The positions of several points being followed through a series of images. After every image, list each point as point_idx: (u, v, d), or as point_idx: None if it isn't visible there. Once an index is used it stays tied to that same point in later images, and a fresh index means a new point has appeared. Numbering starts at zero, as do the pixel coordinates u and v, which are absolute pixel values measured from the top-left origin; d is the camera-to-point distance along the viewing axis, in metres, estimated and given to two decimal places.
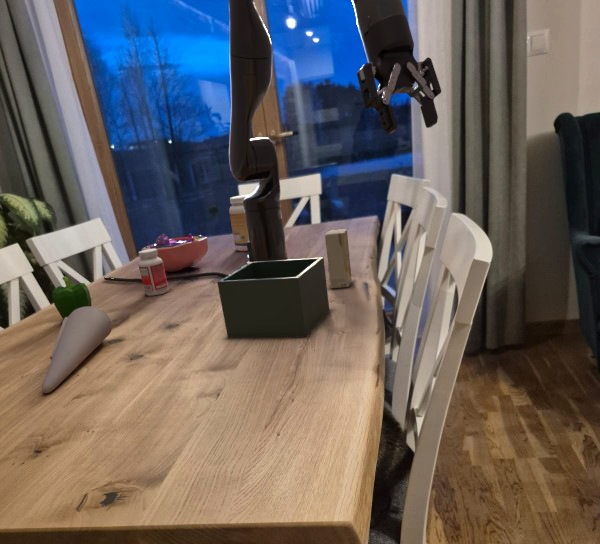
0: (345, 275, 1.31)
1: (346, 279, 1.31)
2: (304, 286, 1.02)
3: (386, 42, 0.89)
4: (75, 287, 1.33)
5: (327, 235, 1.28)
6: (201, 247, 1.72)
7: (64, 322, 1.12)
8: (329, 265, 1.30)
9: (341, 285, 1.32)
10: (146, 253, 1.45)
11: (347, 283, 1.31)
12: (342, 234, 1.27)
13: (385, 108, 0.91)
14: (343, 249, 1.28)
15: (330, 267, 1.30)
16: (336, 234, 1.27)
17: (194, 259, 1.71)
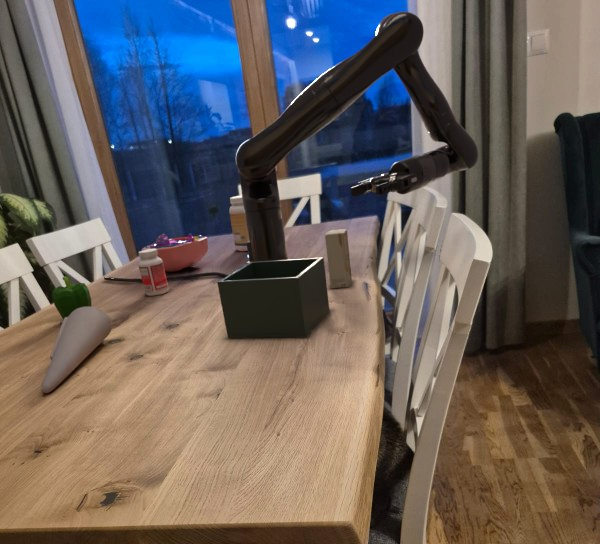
0: (345, 275, 1.31)
1: (346, 279, 1.31)
2: (304, 286, 1.02)
3: (412, 188, 1.37)
4: (75, 287, 1.33)
5: (327, 235, 1.28)
6: (201, 247, 1.72)
7: (64, 322, 1.12)
8: (329, 265, 1.30)
9: (341, 285, 1.32)
10: (146, 253, 1.45)
11: (347, 283, 1.31)
12: (342, 234, 1.27)
13: None
14: (343, 249, 1.28)
15: (330, 267, 1.30)
16: (336, 234, 1.27)
17: (194, 259, 1.71)
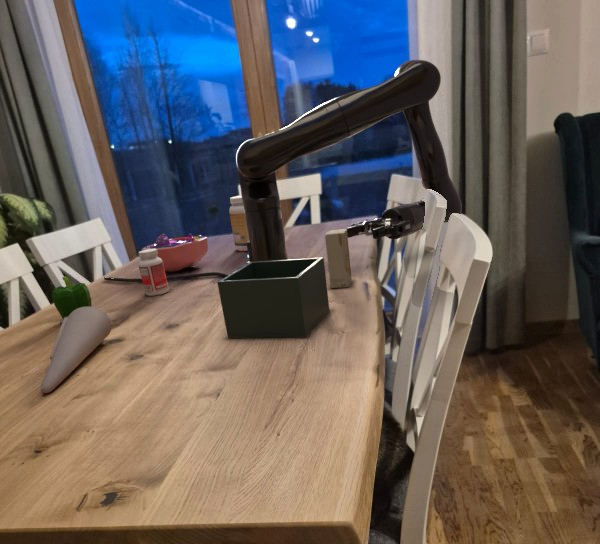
0: (345, 275, 1.31)
1: (346, 279, 1.31)
2: (304, 286, 1.02)
3: (402, 234, 1.42)
4: (75, 287, 1.33)
5: (327, 235, 1.28)
6: (201, 247, 1.72)
7: (64, 322, 1.12)
8: (329, 265, 1.30)
9: (341, 285, 1.32)
10: (146, 253, 1.45)
11: (347, 283, 1.31)
12: (342, 234, 1.27)
13: None
14: (343, 249, 1.28)
15: (330, 267, 1.30)
16: (336, 234, 1.27)
17: (194, 259, 1.71)
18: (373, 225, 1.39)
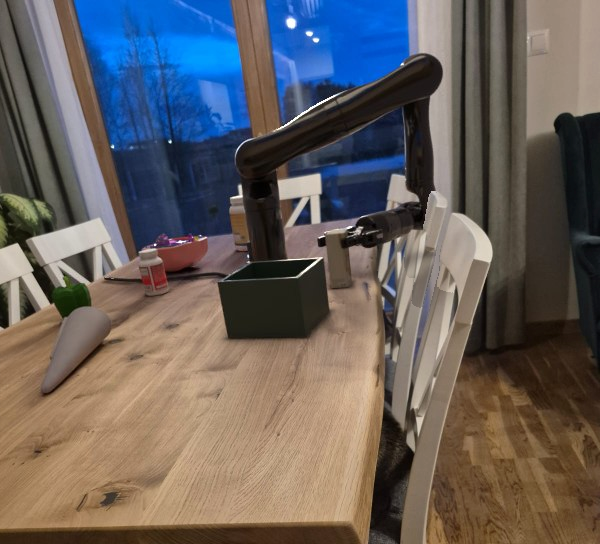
0: (345, 275, 1.30)
1: (346, 279, 1.31)
2: (304, 286, 1.02)
3: (377, 243, 1.36)
4: (75, 287, 1.33)
5: (327, 235, 1.28)
6: (201, 247, 1.72)
7: (64, 322, 1.12)
8: (329, 265, 1.30)
9: (341, 285, 1.32)
10: (146, 253, 1.45)
11: (347, 283, 1.31)
12: (342, 234, 1.27)
13: (354, 244, 1.29)
14: (343, 249, 1.28)
15: (330, 267, 1.30)
16: (336, 234, 1.27)
17: (194, 259, 1.71)
18: None
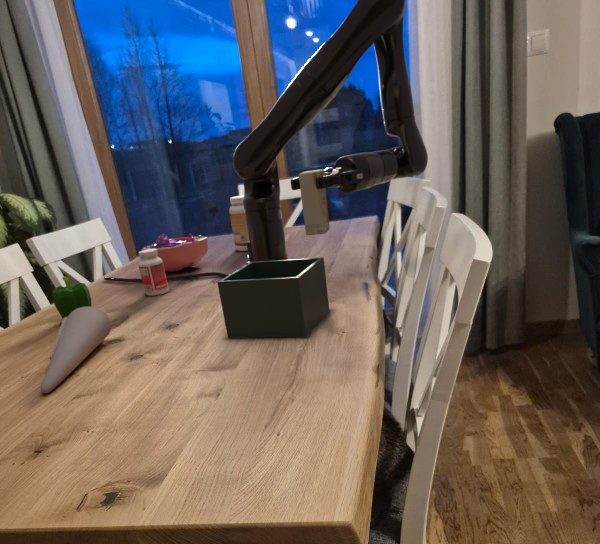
0: (321, 220, 1.18)
1: (323, 225, 1.18)
2: (304, 286, 1.02)
3: (357, 186, 1.23)
4: (75, 287, 1.33)
5: (301, 174, 1.15)
6: (201, 247, 1.72)
7: (63, 322, 1.12)
8: (304, 209, 1.18)
9: (317, 232, 1.19)
10: (146, 253, 1.45)
11: (324, 229, 1.19)
12: (317, 173, 1.14)
13: (331, 184, 1.16)
14: (319, 190, 1.15)
15: (305, 211, 1.18)
16: (311, 173, 1.14)
17: (194, 259, 1.71)
18: None
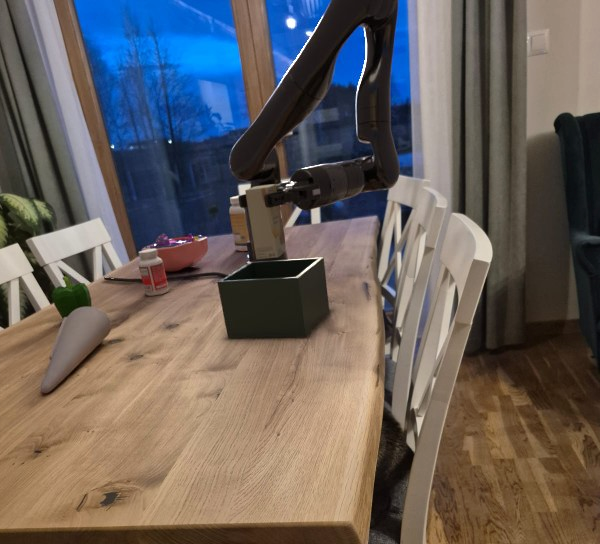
0: (273, 242, 1.03)
1: (275, 247, 1.03)
2: (304, 286, 1.02)
3: (316, 203, 1.08)
4: (75, 287, 1.33)
5: (248, 191, 1.00)
6: (201, 247, 1.72)
7: (63, 322, 1.12)
8: (253, 230, 1.03)
9: (269, 255, 1.04)
10: (146, 253, 1.45)
11: (276, 253, 1.04)
12: (266, 189, 0.99)
13: (283, 201, 1.01)
14: (269, 208, 1.01)
15: (254, 232, 1.03)
16: (259, 189, 1.00)
17: (194, 259, 1.71)
18: None
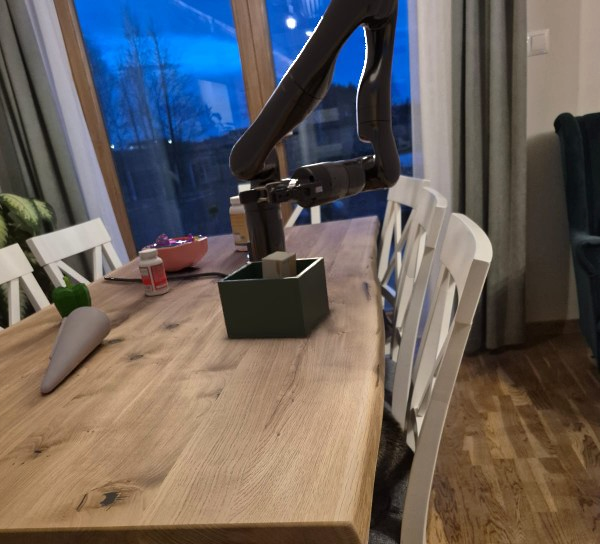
0: None
1: None
2: (304, 286, 1.02)
3: (317, 201, 1.09)
4: (75, 287, 1.33)
5: (264, 259, 1.05)
6: (201, 247, 1.72)
7: (63, 322, 1.12)
8: None
9: None
10: (146, 253, 1.45)
11: None
12: (280, 262, 1.04)
13: (287, 198, 1.01)
14: None
15: None
16: (274, 260, 1.05)
17: (194, 259, 1.71)
18: (276, 188, 1.06)
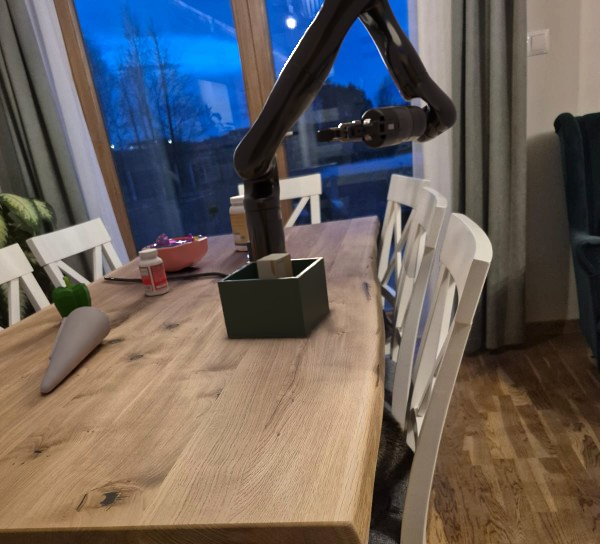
0: None
1: None
2: (304, 286, 1.02)
3: (386, 140, 1.18)
4: (75, 287, 1.33)
5: (258, 261, 1.06)
6: (201, 247, 1.72)
7: (63, 322, 1.12)
8: None
9: None
10: (146, 253, 1.45)
11: None
12: (274, 261, 1.05)
13: (364, 134, 1.11)
14: None
15: None
16: (268, 261, 1.05)
17: (194, 259, 1.71)
18: None
